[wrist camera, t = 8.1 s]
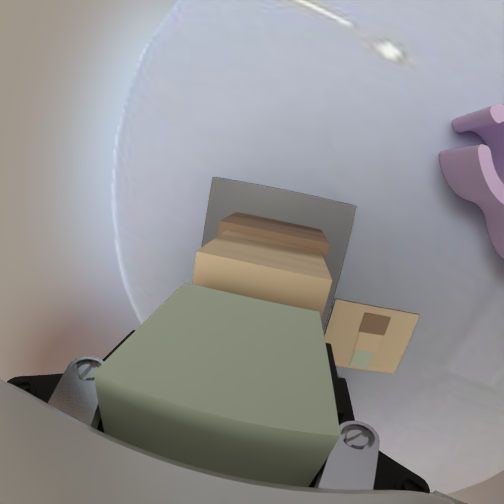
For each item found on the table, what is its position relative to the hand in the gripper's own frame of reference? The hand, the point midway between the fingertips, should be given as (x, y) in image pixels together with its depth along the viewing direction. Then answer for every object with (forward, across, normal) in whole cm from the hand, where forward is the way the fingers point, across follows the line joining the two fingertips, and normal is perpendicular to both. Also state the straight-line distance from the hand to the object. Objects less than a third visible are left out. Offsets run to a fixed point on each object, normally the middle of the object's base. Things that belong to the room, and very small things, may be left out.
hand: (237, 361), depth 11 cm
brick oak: (+9, 0, 0) cm, 9 cm away
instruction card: (+16, -11, +6) cm, 20 cm away
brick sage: (+1, 0, 0) cm, 1 cm away
